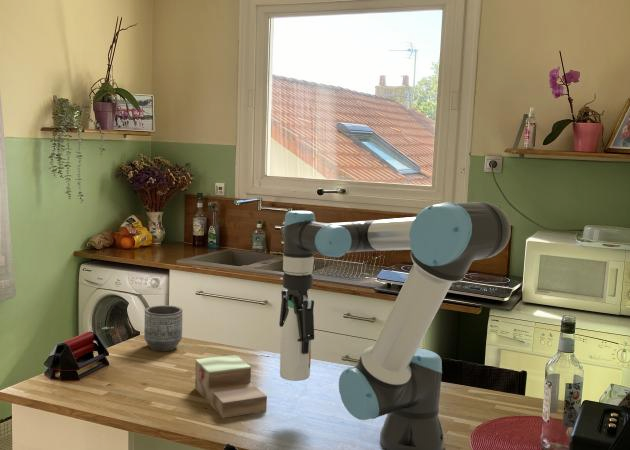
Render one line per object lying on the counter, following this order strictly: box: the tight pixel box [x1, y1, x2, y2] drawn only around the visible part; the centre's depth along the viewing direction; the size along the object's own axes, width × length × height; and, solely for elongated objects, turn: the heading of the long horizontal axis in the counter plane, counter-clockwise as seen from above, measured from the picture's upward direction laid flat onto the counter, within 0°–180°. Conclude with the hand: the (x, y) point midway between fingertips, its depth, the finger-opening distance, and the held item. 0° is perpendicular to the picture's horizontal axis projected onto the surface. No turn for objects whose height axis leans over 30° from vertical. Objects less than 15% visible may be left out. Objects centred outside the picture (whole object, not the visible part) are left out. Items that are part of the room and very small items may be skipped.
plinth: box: [194, 354, 268, 419], centre depth 190 cm, size 22×13×8 cm, turn 28°
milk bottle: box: [279, 300, 312, 382], centre depth 179 cm, size 8×8×20 cm
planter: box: [143, 304, 183, 352], centre depth 232 cm, size 12×12×13 cm
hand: (295, 360), depth 180 cm, fingers closed on milk bottle, 8 cm apart
